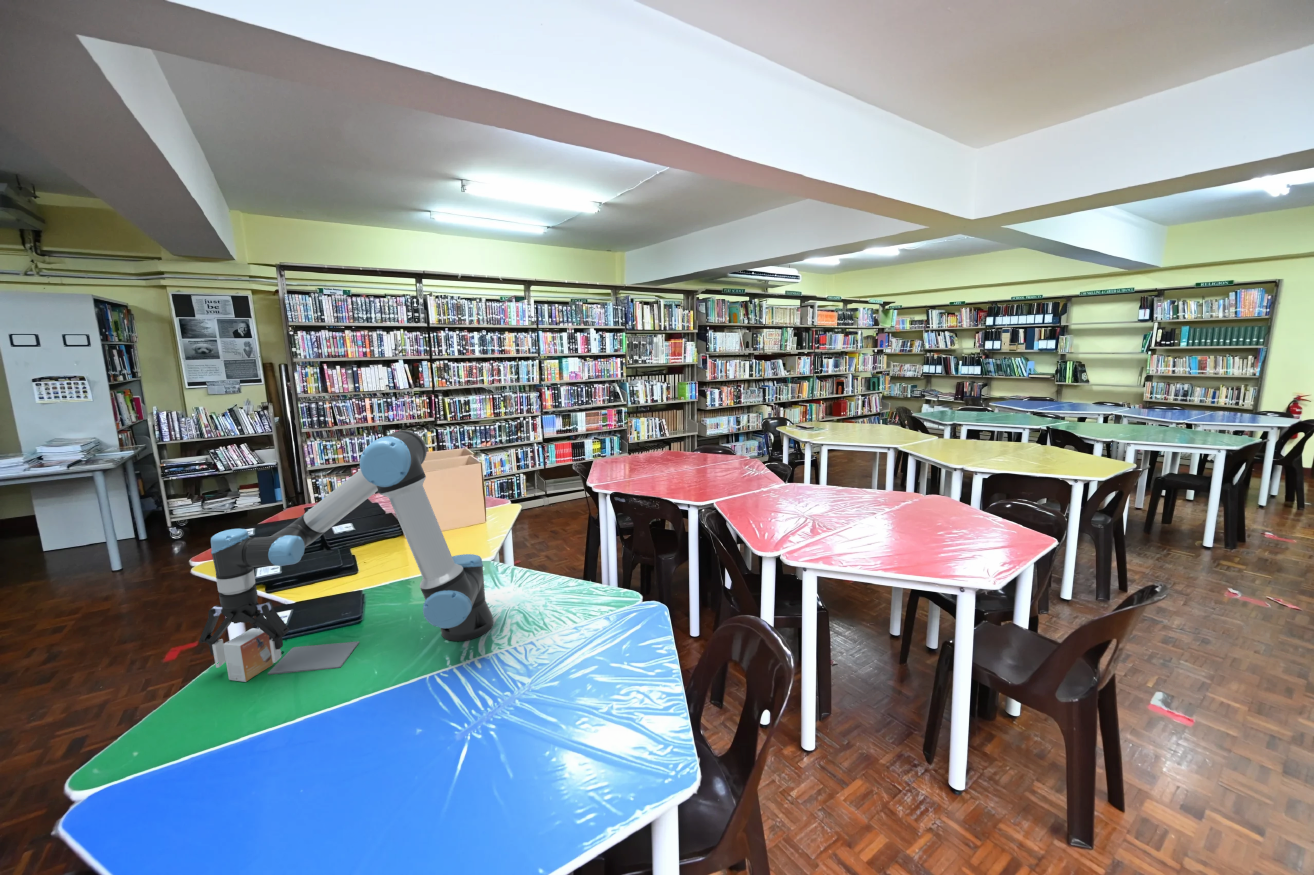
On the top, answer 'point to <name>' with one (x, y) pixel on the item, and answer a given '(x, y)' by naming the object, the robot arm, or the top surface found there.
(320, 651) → the mat
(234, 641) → the small box
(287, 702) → the top surface
